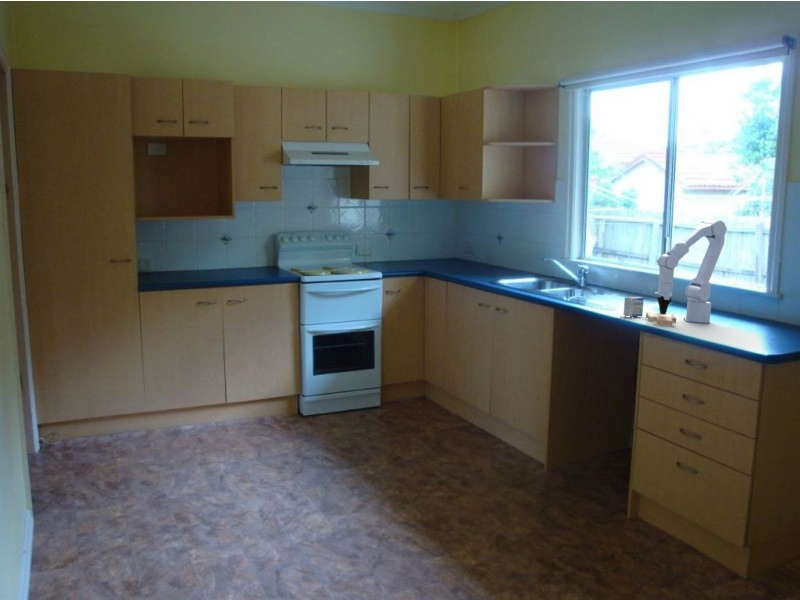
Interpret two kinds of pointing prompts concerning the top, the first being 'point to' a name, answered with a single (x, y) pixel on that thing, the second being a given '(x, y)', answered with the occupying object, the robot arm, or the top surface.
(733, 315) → the top surface
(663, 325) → the mat
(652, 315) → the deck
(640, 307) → the medicine box
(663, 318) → the salmon pink flat block
